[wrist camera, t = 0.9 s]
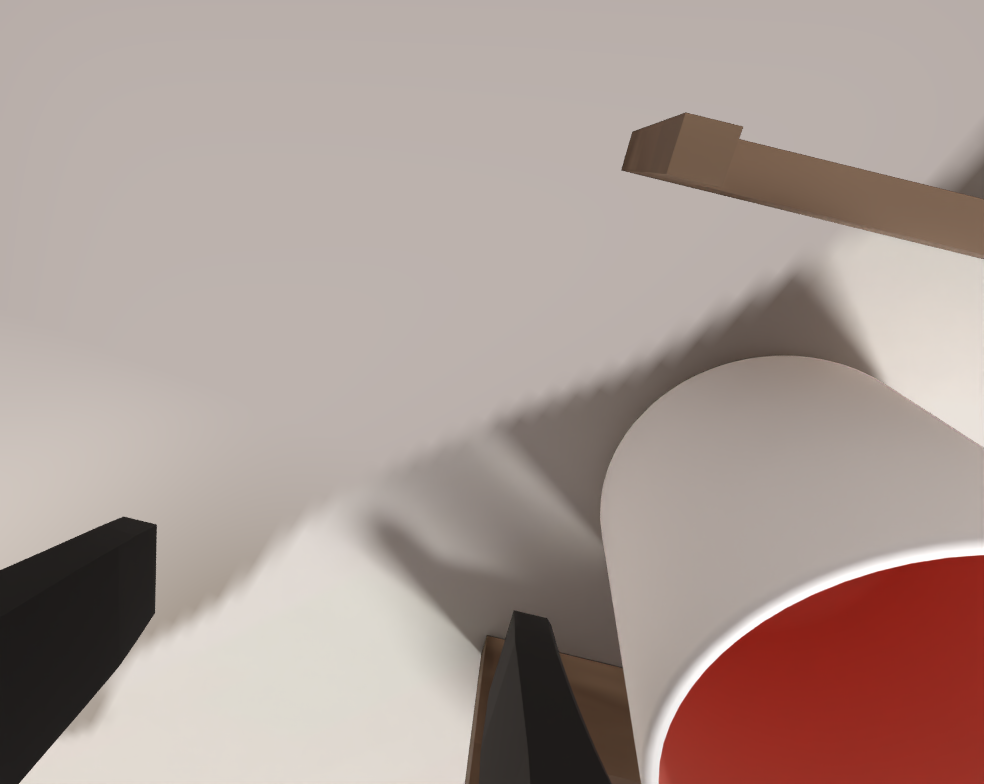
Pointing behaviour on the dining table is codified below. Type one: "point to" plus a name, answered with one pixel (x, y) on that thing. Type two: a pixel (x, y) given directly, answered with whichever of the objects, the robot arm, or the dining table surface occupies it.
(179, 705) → the dining table surface
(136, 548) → the robot arm
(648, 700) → the cup
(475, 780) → the wooden pieces
